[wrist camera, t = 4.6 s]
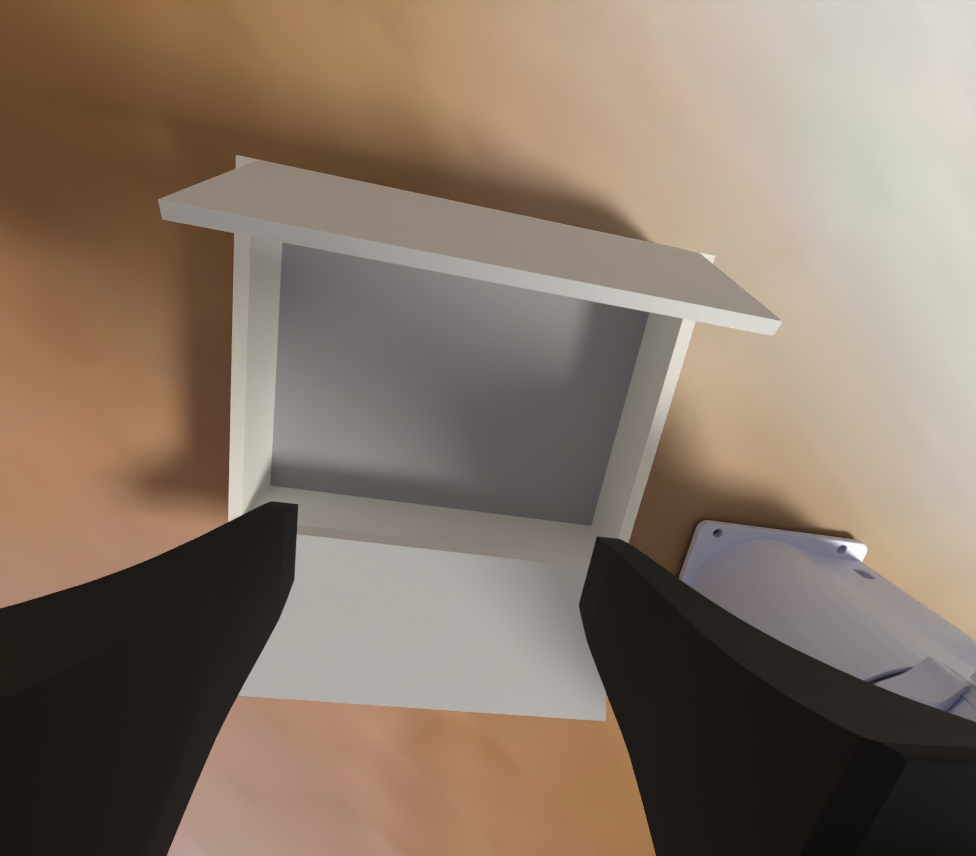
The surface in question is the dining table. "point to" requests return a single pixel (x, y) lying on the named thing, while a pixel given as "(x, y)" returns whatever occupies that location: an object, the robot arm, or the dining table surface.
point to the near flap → (465, 242)
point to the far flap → (431, 633)
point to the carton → (441, 404)
